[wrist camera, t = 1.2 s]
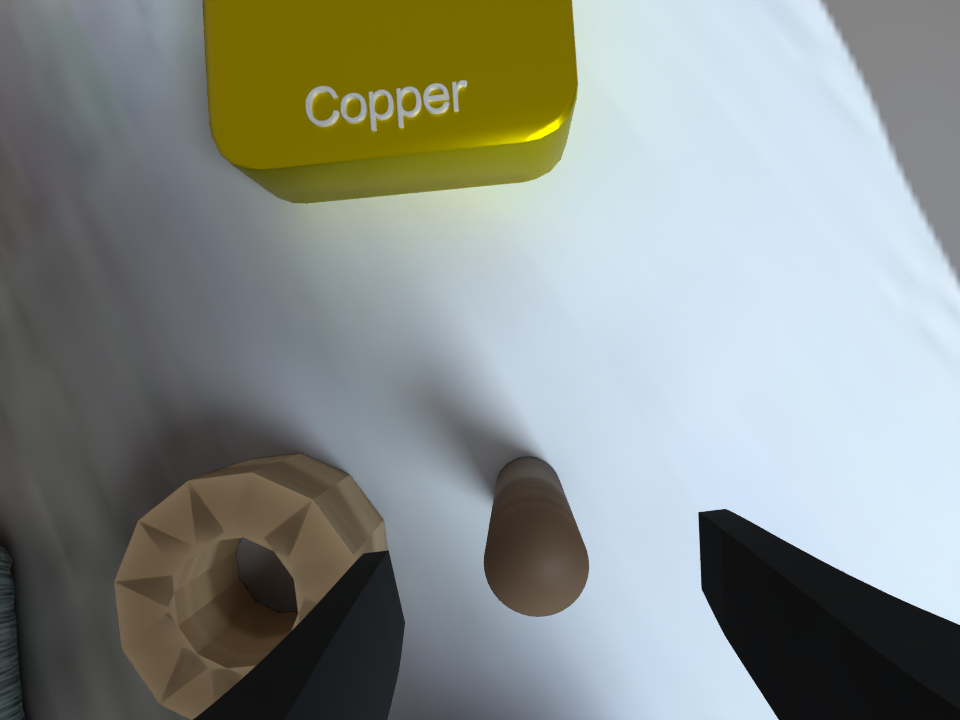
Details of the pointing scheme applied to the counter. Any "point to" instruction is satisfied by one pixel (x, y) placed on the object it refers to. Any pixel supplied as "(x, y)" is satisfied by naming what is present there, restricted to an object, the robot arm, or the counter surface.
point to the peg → (534, 541)
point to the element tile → (389, 93)
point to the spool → (9, 646)
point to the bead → (233, 571)
